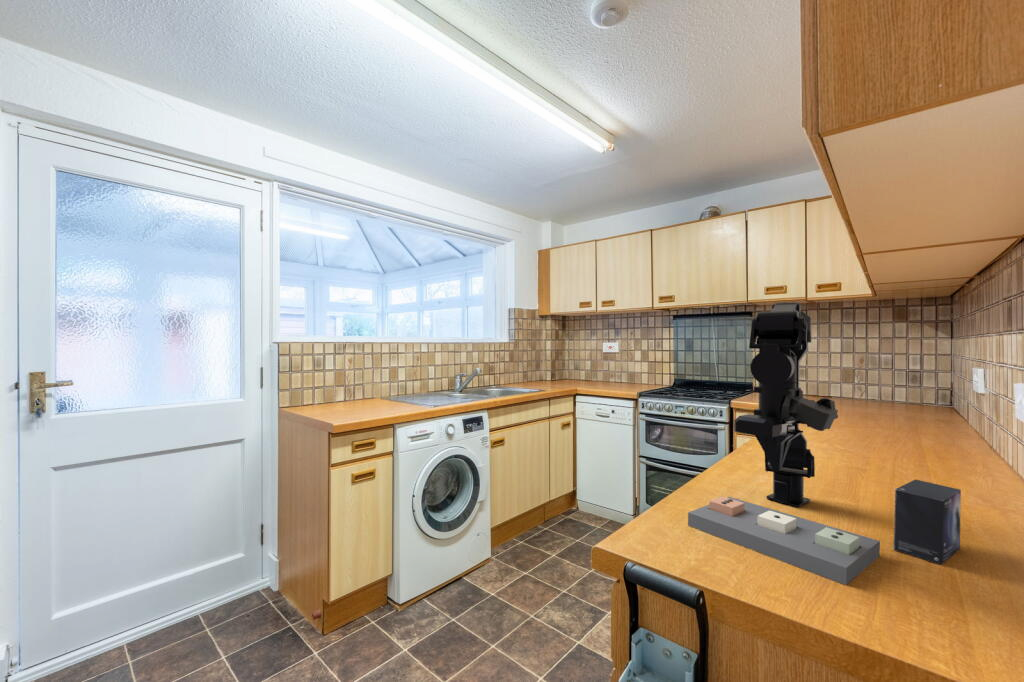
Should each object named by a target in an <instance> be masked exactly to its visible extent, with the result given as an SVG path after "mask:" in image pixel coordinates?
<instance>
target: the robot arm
mask: <svg viewBox="0 0 1024 682" xmlns="http://www.w3.org/2000/svg"><path fill="white" fill-rule="evenodd" d="M755 316H756V317H753V318H752V319H751V320H752V321H751V329H750V336H749V337H750V338H749V345H748V348H749V349H750V350H751V349H754V350H757V349H758V352H759V353H757V354H756V355H754V356H753V359H752V360H751V363H750V365H749V366H750V373H751V376H752V377H753V378H754V379H755V380H756V381H757V382H758V385H757V386H753V392H754V393H758V408H756V409H755V408H754V409H753V414H752V413H748V414H743V415H742V414H741V415H739V416H737V418H735V419H734V420H733V424H734V425H733V431H734V432H735V433H739V434H746V435H752V436H755V438H756V440H757V442H758V444H759V445H760V447H761V448H762V451H763V453H764V469H765V471H764V472H771V473H773V474H772V475H773V476H772V493H770V494H768V495H766V496H765V497H766V499H767V500H771V501H773V502H774V501H775V502H778V503H781V504H785V505H789V506H791V507H796V508H800V507H801V506H804V505H805V504H808V503H809V502H811V499H810V498H808V497H804V494H805V493H804V486H805V485H804V484H805V483H804V478H807V479H811V478H814V477H815V476H816V475H815V473H816V471H815V468H816V467H815V465H816V464H815V456H814V455H813V453H812V452H811V449H810V448H808V440H807V439H806V437H805V436H804V430H801V429H800V427H799V426H800V425H799V424H801V425H806V426H807V428H812V429H813V430H816V431H819V432H823V431H826V430H830V429H831V427H832V425H833V423H834V422H835V420H836V419H838V418H839V415H838V412H839V410H837V408H836V404H835V401H834V400H833V399H830V398H827V397H822V398H820V399H819V400H817V401H816V400H815V399H808V398H806V397H804V395H803V394H804V392H803V389H802V388H801V387H800V363H801V360H802V359H803V358H804V357H805V355H806V353H807V352H808V349H809V348H808V347H809V346H808V345H809V344H810V343H812V334H813V333H812V318H811V317H810V316H809V315H808V314H807V313H805V312H804V311H803V310H802V309H801V303H797V302H793V301H792V302H777V303H775V304H772V307H771V310H770V311H758V312H757V313H756V315H755Z"/></svg>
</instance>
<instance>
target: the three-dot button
mask: <svg viewBox="0 0 1024 682" xmlns="http://www.w3.org/2000/svg"><path fill="white" fill-rule="evenodd" d="M708 505H709V509H710V510H713V511H717V512H720V513H723V514H726V515H729V516H732V517H734V516H736V515H739V514H741V513H743V512H744V503H743V502H739V501H736V500H733V499H729V498H727V497H726V496H718V497H717V498H713V499H711V500H709V504H708Z"/></svg>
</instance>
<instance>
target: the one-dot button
mask: <svg viewBox="0 0 1024 682" xmlns="http://www.w3.org/2000/svg"><path fill="white" fill-rule="evenodd" d="M757 525H759V526H762V527H765V528H768V529H771V530H774V531H777V532H780V533H783V534H788V533H789V532H791V531H793V530H795V529H796V518H793V517H790V516H787V515H783V514H780V513H777V512H773V511H770V510H769V511H767V512H765V513H763V514H760V515H758V516H757Z"/></svg>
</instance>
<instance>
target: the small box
mask: <svg viewBox="0 0 1024 682" xmlns="http://www.w3.org/2000/svg"><path fill="white" fill-rule="evenodd" d="M961 493H962V489H960V488H956V487H955V488H954V487H951V486H946V485H942V484H938V483H933V482H928V481H924V480H920V479H913V480H911V481H909V482H907V483H905V484H903V485H901V486H899V487H897V488H895V489H894V528H893V530H894V531H893V533H894V534H893V550H894V551H897V552H900V553H904V554H907V555H910V556H913V557H915V558H918V559H922V560H925V561H927V562H931V563H934V564H937V565H941V566H942V565H944V564H945V563H946V562H948V560H950V559H951V557H953V556H954V555H955V554H956V553H957V552H958V551H960V550H961V513H962V512H961V510H962V509H961V506H962V505H961V499H962V498H961V497H962V495H961Z"/></svg>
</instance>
